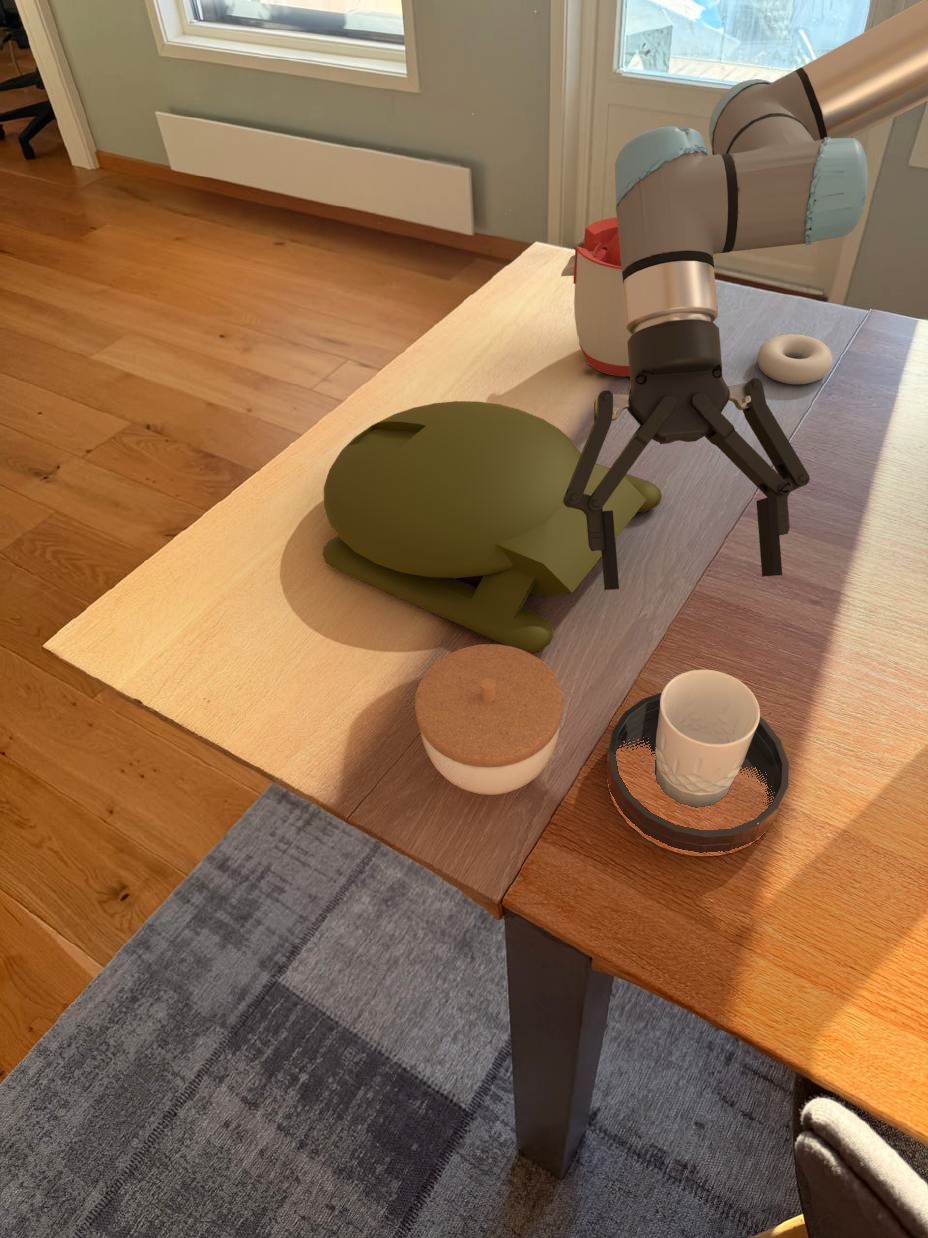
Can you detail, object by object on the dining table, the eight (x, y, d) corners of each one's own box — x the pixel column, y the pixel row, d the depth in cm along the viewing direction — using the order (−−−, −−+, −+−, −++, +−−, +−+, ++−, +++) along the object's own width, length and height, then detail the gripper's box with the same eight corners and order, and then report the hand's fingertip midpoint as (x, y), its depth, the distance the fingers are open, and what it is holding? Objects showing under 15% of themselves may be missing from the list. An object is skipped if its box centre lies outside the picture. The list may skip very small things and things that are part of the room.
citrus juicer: (571, 323, 138) (577, 186, 123) (687, 336, 133) (707, 197, 119) (546, 377, 127) (549, 235, 113) (670, 393, 123) (689, 248, 109)
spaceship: (667, 499, 108) (678, 429, 101) (537, 667, 91) (538, 598, 84) (428, 415, 122) (422, 350, 115) (276, 547, 105) (258, 479, 98)
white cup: (690, 830, 77) (708, 763, 70) (629, 766, 81) (640, 697, 74) (757, 785, 80) (781, 715, 72) (694, 726, 84) (711, 655, 77)
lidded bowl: (522, 842, 77) (522, 769, 69) (397, 784, 82) (383, 709, 74) (582, 735, 85) (588, 658, 77) (464, 688, 89) (459, 610, 81)
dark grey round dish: (783, 729, 84) (791, 705, 82) (777, 875, 74) (786, 853, 72) (619, 700, 87) (622, 676, 85) (593, 836, 77) (595, 814, 75)
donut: (744, 379, 125) (817, 396, 121) (748, 356, 123) (823, 373, 119) (768, 345, 131) (838, 360, 127) (772, 323, 128) (844, 338, 124)
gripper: (802, 330, 80) (820, 571, 80) (520, 353, 79) (540, 595, 80) (839, 303, 72) (858, 568, 73) (527, 328, 72) (549, 595, 72)
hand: (692, 583), depth 76 cm, fingers open, 13 cm apart
